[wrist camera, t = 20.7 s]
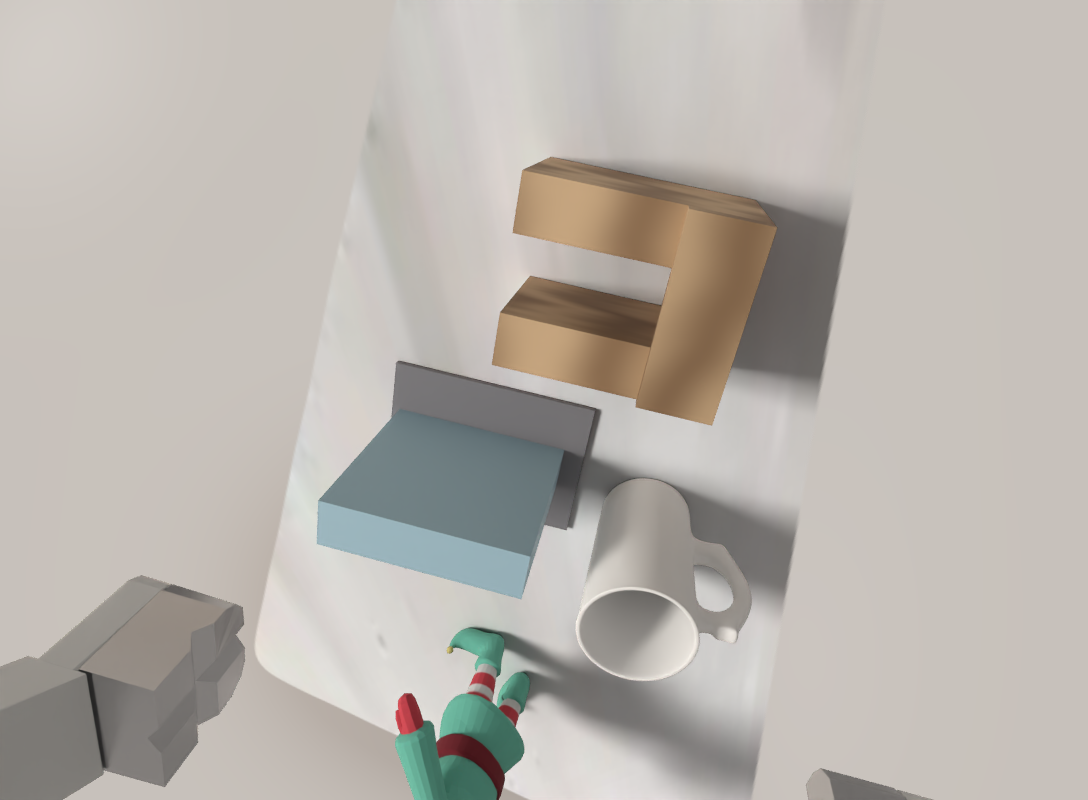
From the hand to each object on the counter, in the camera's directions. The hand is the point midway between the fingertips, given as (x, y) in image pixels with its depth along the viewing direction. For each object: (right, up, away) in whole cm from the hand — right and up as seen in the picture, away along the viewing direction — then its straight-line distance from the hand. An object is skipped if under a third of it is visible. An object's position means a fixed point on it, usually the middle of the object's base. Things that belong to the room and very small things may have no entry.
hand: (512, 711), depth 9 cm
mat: (-4, +1, +38) cm, 39 cm away
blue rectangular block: (-4, +1, +38) cm, 38 cm away
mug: (+9, -4, +38) cm, 40 cm away
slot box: (+6, +13, +31) cm, 34 cm away
